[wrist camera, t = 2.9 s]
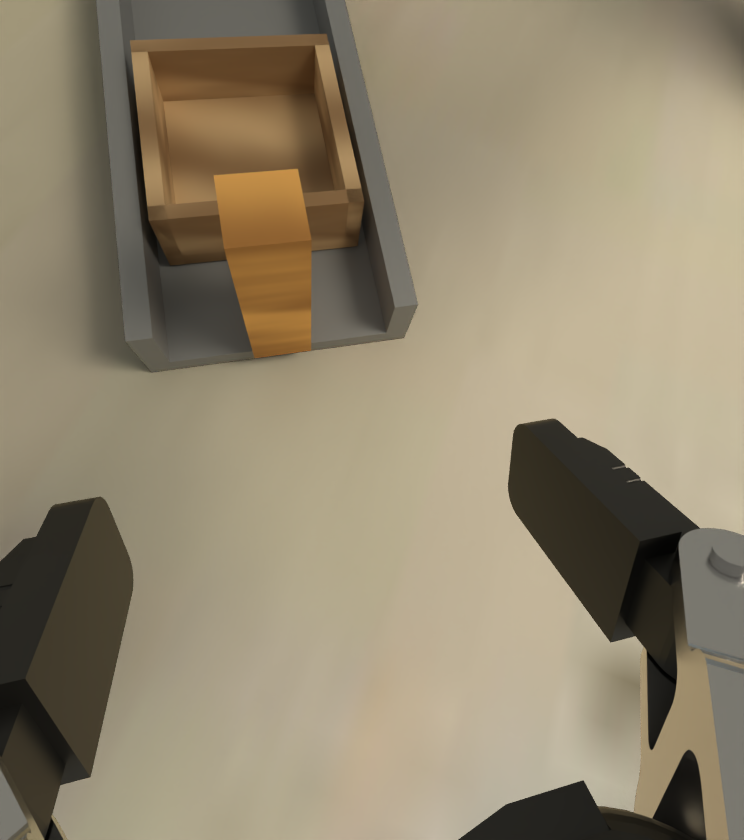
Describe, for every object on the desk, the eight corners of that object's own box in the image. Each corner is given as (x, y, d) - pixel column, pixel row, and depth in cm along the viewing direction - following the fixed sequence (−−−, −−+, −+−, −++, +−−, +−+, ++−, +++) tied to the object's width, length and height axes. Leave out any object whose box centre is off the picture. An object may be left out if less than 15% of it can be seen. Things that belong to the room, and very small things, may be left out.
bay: (111, -41, 34) (82, -127, 30) (316, -43, 36) (317, -124, 32) (151, 372, 27) (121, 336, 23) (403, 337, 29) (420, 299, 25)
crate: (151, 103, 30) (79, -104, 21) (324, 93, 32) (330, -102, 22) (181, 368, 26) (109, 260, 17) (378, 341, 28) (412, 229, 18)
